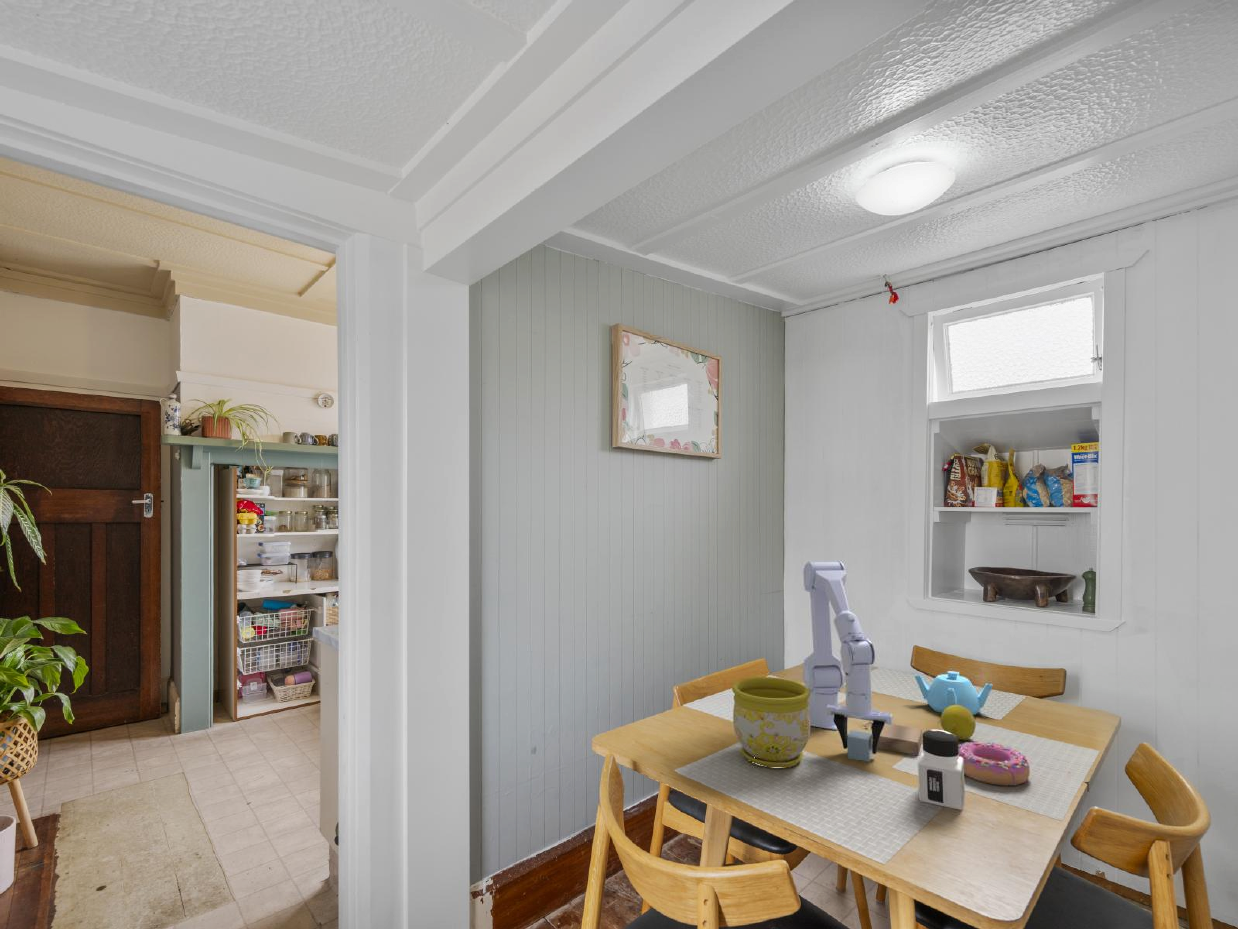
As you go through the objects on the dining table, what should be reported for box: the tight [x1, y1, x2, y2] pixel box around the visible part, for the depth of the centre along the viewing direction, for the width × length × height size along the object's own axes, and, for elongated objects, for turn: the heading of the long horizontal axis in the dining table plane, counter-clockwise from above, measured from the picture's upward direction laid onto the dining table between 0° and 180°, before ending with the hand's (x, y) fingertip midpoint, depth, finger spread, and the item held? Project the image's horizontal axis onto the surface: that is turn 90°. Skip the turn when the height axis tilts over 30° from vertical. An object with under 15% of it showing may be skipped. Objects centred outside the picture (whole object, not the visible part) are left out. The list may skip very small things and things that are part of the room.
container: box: [917, 729, 966, 811], centre depth 128 cm, size 8×8×13 cm
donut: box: [958, 741, 1031, 786], centre depth 139 cm, size 14×14×5 cm
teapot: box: [914, 670, 993, 716], centre depth 181 cm, size 15×15×11 cm
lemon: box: [940, 705, 976, 741], centre depth 160 cm, size 11×8×8 cm
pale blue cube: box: [846, 729, 874, 763], centre depth 149 cm, size 5×5×5 cm
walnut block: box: [877, 723, 923, 756], centre depth 156 cm, size 10×10×3 cm
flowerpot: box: [731, 676, 811, 768], centre depth 149 cm, size 18×18×16 cm
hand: (860, 750), depth 149 cm, fingers open, 6 cm apart
